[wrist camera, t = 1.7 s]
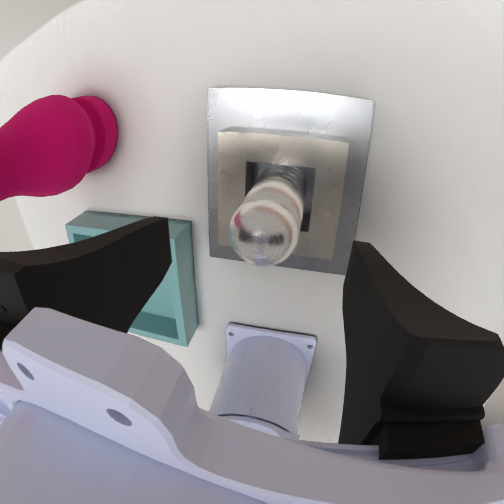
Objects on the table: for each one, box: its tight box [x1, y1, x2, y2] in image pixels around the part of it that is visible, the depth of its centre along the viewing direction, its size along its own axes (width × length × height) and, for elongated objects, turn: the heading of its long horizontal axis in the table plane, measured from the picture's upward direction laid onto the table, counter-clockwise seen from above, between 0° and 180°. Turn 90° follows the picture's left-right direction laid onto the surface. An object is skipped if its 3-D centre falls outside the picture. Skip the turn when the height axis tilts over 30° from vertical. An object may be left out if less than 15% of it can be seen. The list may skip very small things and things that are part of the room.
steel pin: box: [229, 164, 307, 266], centre depth 16 cm, size 3×3×8 cm
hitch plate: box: [208, 88, 374, 275], centre depth 19 cm, size 12×10×4 cm
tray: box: [65, 211, 199, 347], centre depth 25 cm, size 10×10×3 cm
